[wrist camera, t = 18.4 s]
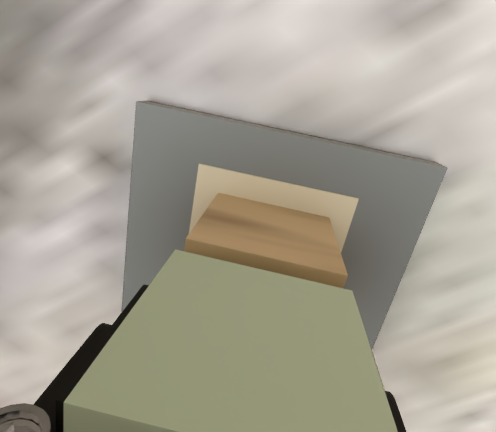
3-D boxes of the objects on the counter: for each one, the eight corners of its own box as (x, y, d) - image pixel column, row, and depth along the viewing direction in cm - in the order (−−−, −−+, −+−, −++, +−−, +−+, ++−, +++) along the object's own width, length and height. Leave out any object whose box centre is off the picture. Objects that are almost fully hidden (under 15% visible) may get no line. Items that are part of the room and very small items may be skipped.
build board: (357, 356, 19) (362, 374, 17) (131, 301, 19) (120, 316, 18) (435, 162, 15) (448, 168, 13) (147, 100, 15) (135, 101, 14)
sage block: (305, 419, 11) (317, 659, 6) (157, 382, 11) (63, 589, 7) (352, 290, 9) (417, 492, 5) (175, 249, 9) (63, 402, 5)
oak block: (301, 310, 17) (305, 396, 12) (201, 287, 17) (168, 362, 12) (329, 217, 15) (347, 275, 10) (218, 192, 15) (185, 238, 10)
